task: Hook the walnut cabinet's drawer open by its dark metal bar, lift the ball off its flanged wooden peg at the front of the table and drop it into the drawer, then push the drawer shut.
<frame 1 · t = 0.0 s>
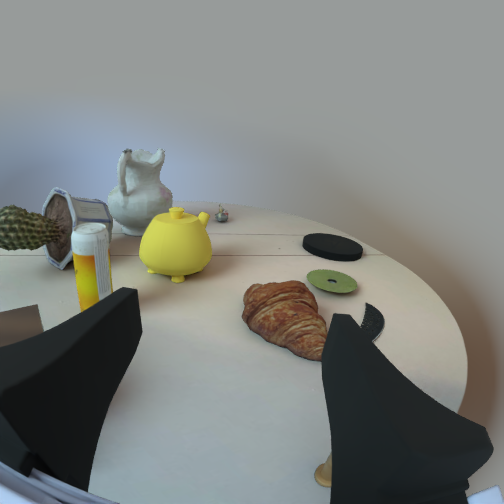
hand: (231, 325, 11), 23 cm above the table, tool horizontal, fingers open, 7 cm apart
green disc: (330, 288, 68), on the table
teapot: (181, 267, 70), on the table
knife: (365, 343, 49), on the table
cabinet: (18, 392, 29), on the table
yellow two-tone cylinder: (98, 313, 49), on the table
figurine: (221, 222, 108), on the table
ceramic pitcher: (138, 231, 90), on the table
wireless charger: (332, 250, 92), on the table
potted plant: (54, 266, 62), on the table
pastry: (282, 328, 52), on the table
flanged wooden peg: (328, 476, 26), on the table
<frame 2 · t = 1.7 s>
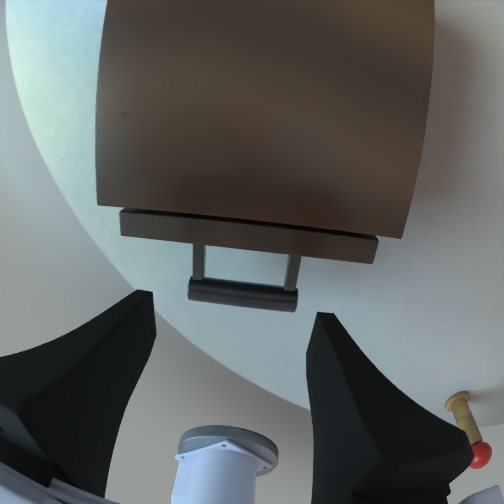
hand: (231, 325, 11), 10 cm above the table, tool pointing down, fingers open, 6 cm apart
ball: (474, 444, 22), point 7 cm above the table, touching flanged wooden peg
cabinet: (268, 67, 16), on the table
drawer: (257, 148, 15), point 4 cm above the table, slide at 0.5 cm
flanged wooden peg: (456, 399, 28), on the table
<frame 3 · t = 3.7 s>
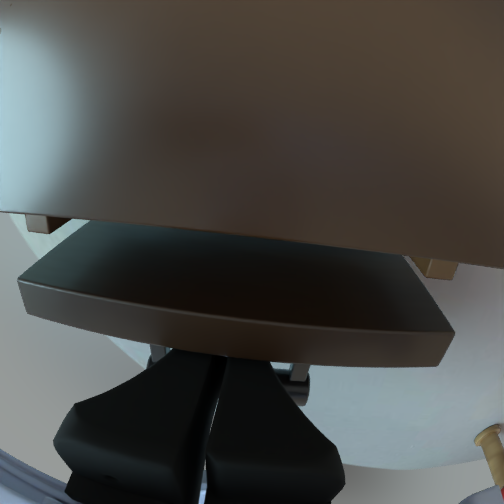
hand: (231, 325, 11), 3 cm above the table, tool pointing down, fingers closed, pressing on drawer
drawer: (246, 160, 8), point 4 cm above the table, slide at 2.2 cm, touching gripper
flanged wooden peg: (486, 433, 21), on the table
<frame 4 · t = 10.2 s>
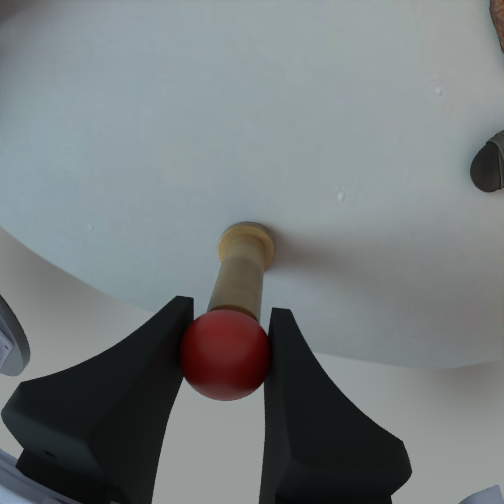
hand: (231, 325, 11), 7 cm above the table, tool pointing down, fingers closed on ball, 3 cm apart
ball: (230, 326, 11), point 7 cm above the table, touching flanged wooden peg, gripper
flanged wooden peg: (246, 247, 17), on the table
when the fingers open (5 cm above the table, at t = 16.1 s): ball drops 3 cm, resting on drawer.
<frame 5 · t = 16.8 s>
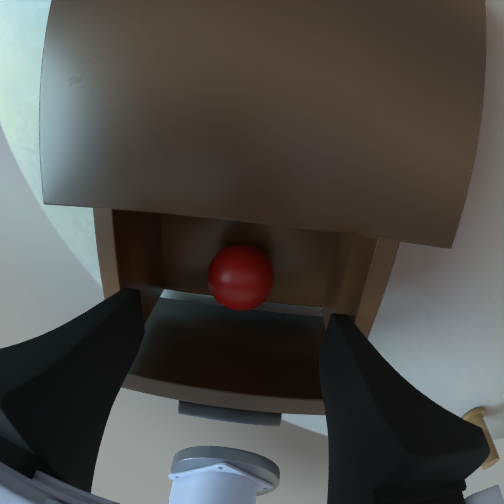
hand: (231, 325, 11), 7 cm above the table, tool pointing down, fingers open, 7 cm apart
ball: (243, 261, 16), point 2 cm above the table, touching drawer
cabinet: (269, 35, 13), on the table
drawer: (239, 299, 14), point 4 cm above the table, slide at 7.9 cm, touching ball, gripper
flanged wooden peg: (471, 415, 24), on the table
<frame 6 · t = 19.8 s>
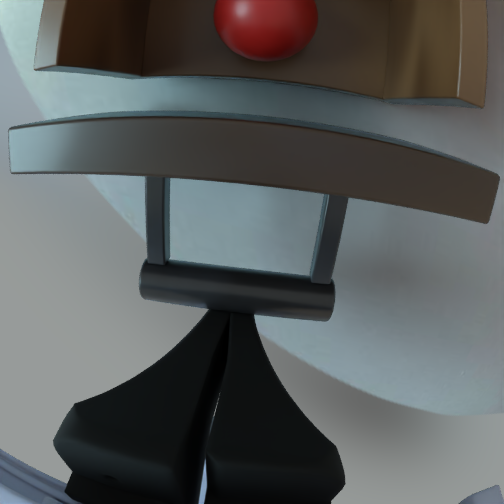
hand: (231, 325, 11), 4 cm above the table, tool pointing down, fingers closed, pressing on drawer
ball: (264, 19, 8), point 2 cm above the table, tilted 12°, touching drawer
drawer: (262, 26, 7), point 4 cm above the table, slide at 7.4 cm, touching ball, gripper
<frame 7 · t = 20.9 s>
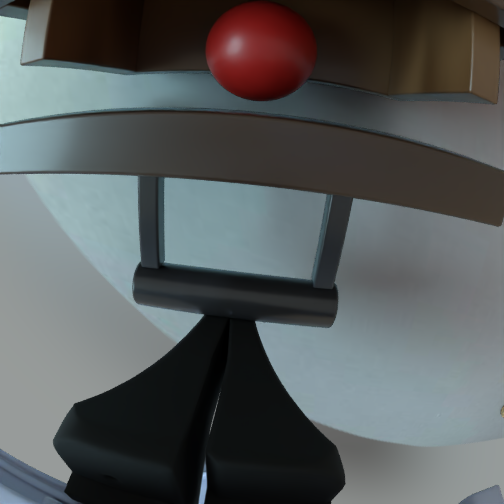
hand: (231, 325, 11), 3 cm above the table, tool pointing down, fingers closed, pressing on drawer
ball: (262, 13, 7), point 3 cm above the table, tilted 65°, touching drawer
drawer: (261, 17, 6), point 4 cm above the table, slide at 3.0 cm, touching ball, gripper
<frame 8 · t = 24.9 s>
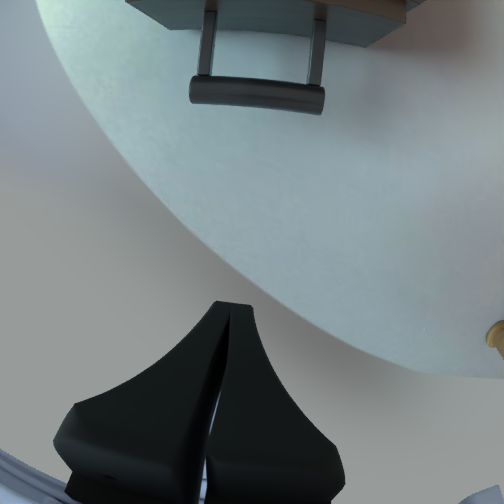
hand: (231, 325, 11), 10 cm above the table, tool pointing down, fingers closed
flanged wooden peg: (497, 332, 23), on the table
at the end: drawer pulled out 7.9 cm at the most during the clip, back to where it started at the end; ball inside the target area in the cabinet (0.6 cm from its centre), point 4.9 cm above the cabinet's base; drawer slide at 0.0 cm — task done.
